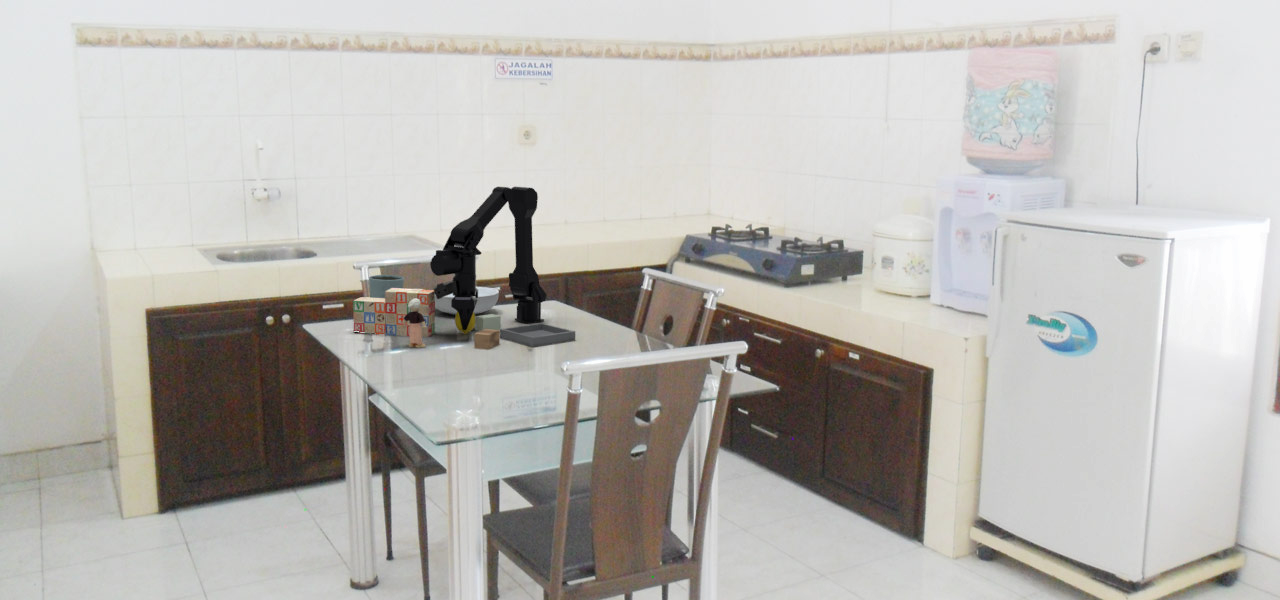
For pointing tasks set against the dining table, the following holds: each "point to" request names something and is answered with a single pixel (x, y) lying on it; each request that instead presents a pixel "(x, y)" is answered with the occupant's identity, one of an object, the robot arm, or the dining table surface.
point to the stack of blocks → (394, 312)
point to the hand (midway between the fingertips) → (465, 327)
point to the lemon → (470, 326)
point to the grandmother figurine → (415, 323)
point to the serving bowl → (484, 300)
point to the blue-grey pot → (384, 284)
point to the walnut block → (486, 339)
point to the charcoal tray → (537, 334)
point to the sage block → (487, 322)
